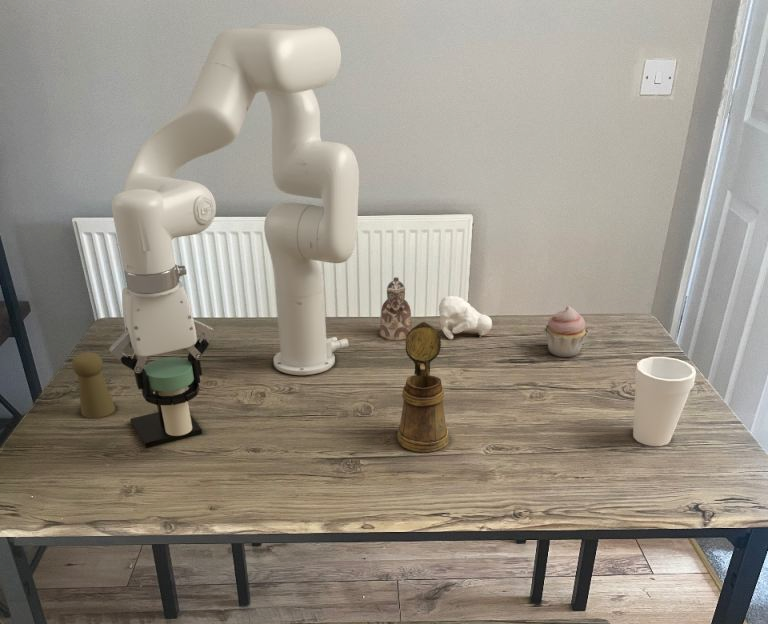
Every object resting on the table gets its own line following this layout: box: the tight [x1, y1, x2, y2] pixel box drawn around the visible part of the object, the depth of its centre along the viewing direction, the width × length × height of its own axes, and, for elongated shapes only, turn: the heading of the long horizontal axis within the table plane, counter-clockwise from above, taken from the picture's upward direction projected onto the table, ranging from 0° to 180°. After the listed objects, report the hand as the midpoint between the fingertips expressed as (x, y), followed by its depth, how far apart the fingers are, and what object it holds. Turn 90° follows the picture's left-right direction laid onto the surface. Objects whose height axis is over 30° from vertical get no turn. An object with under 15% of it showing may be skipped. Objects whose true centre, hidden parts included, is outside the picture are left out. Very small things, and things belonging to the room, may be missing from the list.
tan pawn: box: [71, 351, 116, 419], centre depth 146 cm, size 6×6×11 cm
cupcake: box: [542, 305, 590, 358], centre depth 167 cm, size 9×9×10 cm
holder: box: [129, 380, 203, 449], centre depth 137 cm, size 10×18×12 cm, turn 29°
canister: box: [143, 356, 194, 436], centre depth 131 cm, size 8×8×11 cm
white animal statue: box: [438, 295, 493, 340], centre depth 175 cm, size 6×8×12 cm
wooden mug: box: [397, 321, 450, 453], centre depth 136 cm, size 9×14×18 cm, turn 179°
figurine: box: [378, 276, 413, 341], centre depth 174 cm, size 7×7×12 cm
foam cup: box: [632, 356, 697, 447], centre depth 136 cm, size 10×9×13 cm
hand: (170, 385), depth 130 cm, fingers closed on canister, 7 cm apart
